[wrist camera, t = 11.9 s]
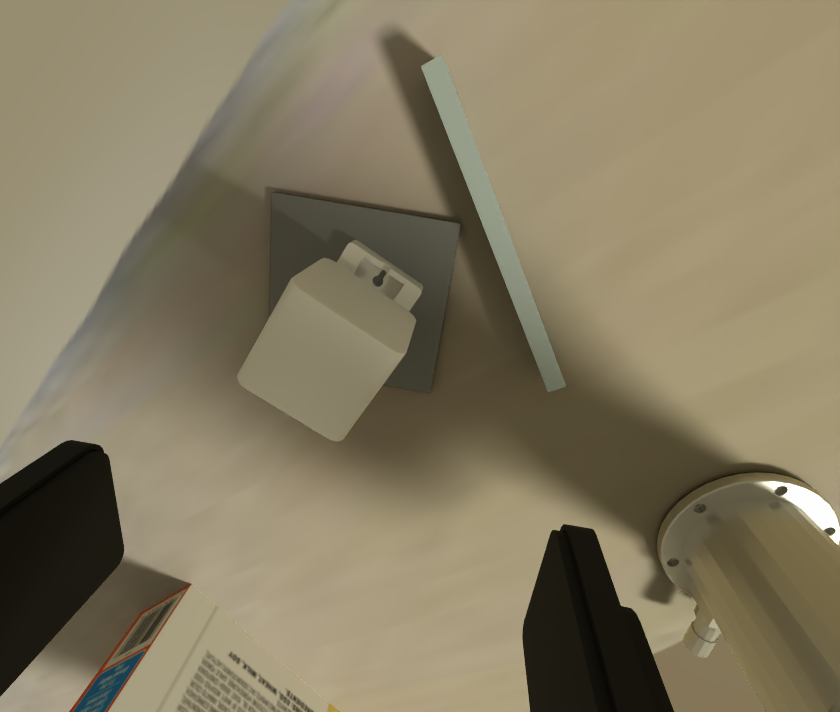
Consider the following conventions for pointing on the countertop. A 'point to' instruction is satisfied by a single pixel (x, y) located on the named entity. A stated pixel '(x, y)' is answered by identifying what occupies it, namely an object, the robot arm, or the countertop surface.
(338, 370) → the security camera
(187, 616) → the pasta box
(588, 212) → the countertop surface
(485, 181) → the low wall
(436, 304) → the mat
